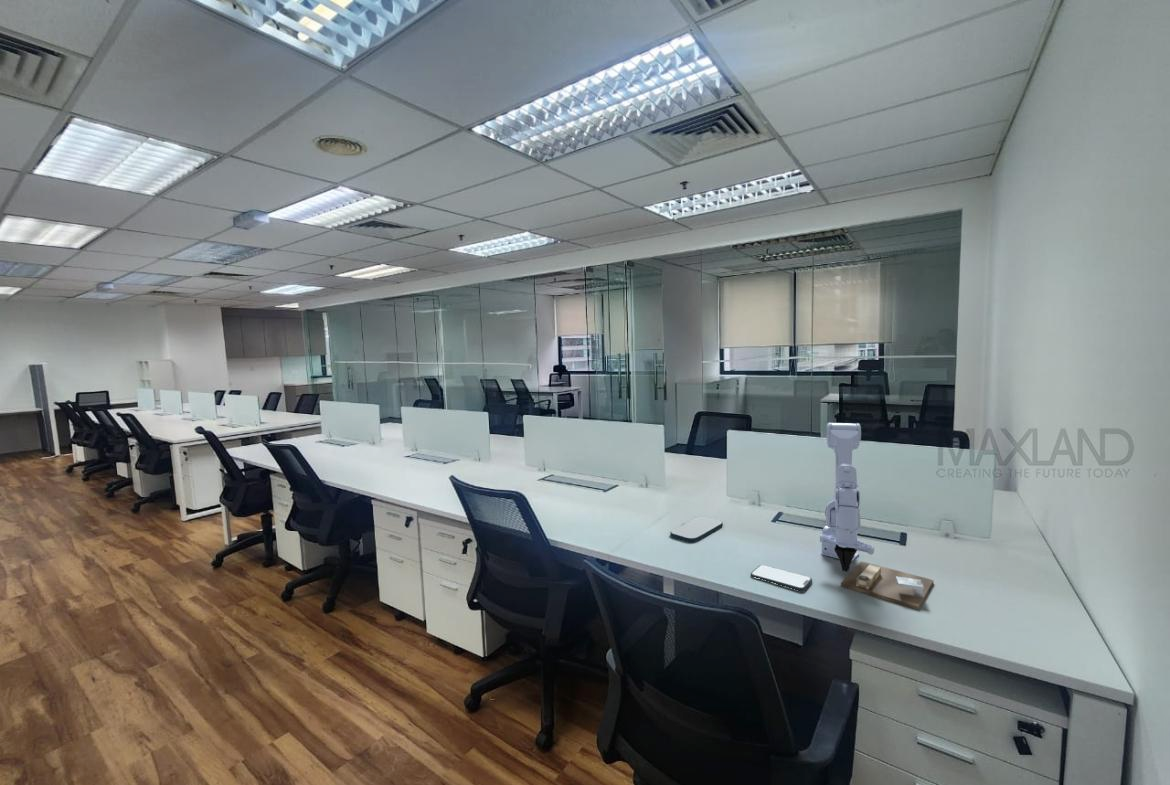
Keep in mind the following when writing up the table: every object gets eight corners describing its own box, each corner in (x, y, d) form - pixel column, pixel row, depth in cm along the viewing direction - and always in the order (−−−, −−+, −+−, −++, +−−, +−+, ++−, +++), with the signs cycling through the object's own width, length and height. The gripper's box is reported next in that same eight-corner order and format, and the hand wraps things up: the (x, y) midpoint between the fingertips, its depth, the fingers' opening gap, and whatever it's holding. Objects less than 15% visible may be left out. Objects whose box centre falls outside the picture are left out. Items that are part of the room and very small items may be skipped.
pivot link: (869, 590, 136) (869, 581, 136) (854, 586, 139) (855, 577, 139) (881, 574, 145) (882, 565, 145) (868, 570, 148) (868, 562, 148)
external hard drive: (693, 545, 175) (693, 539, 175) (666, 537, 183) (666, 532, 183) (725, 526, 191) (725, 521, 191) (700, 519, 200) (700, 515, 199)
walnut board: (840, 586, 142) (840, 582, 141) (861, 564, 155) (861, 561, 155) (918, 609, 128) (918, 606, 128) (933, 583, 141) (933, 580, 141)
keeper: (897, 595, 134) (898, 583, 133) (895, 588, 138) (895, 576, 137) (923, 599, 131) (923, 587, 131) (920, 591, 135) (920, 579, 135)
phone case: (749, 579, 149) (803, 594, 138) (748, 573, 149) (803, 589, 138) (760, 568, 156) (813, 582, 145) (760, 563, 156) (813, 577, 145)
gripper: (816, 524, 148) (815, 567, 150) (869, 536, 138) (868, 582, 139) (824, 518, 153) (824, 559, 155) (876, 529, 143) (875, 574, 144)
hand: (845, 570), depth 147 cm, fingers closed
